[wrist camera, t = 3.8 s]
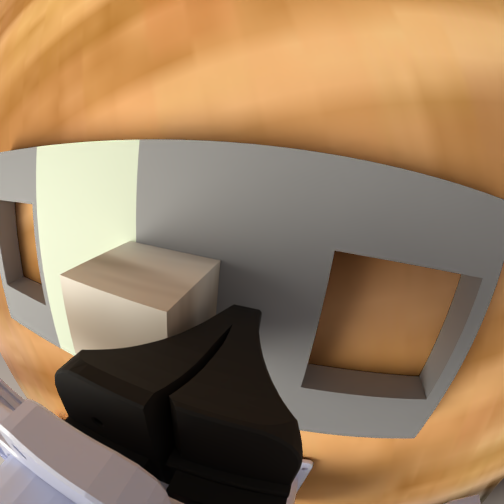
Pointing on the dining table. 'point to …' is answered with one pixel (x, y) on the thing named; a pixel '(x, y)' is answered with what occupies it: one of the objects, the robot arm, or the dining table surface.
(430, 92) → the dining table surface
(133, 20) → the dining table surface
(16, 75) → the dining table surface
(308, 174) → the plate
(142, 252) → the block
